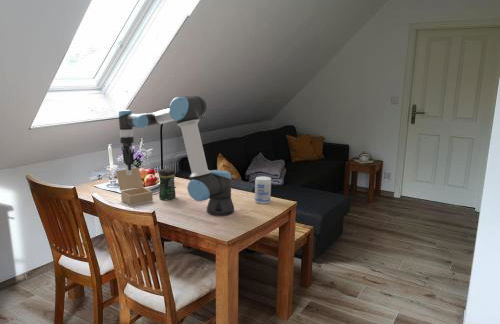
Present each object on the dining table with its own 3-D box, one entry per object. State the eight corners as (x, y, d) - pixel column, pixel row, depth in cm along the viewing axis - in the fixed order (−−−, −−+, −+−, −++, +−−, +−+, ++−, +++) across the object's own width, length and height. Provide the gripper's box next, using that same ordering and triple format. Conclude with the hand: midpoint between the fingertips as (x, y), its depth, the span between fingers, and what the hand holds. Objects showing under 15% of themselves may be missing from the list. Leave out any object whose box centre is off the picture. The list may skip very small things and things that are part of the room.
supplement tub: (257, 204, 228) (257, 180, 224) (252, 200, 236) (252, 176, 233) (272, 203, 230) (273, 179, 227) (267, 198, 239) (268, 175, 236)
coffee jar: (166, 201, 231) (165, 171, 227) (157, 198, 236) (156, 169, 232) (178, 197, 239) (177, 168, 235) (169, 195, 243) (168, 166, 239)
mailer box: (152, 201, 231) (152, 191, 229) (130, 206, 222) (129, 196, 220) (143, 196, 240) (143, 187, 238) (121, 200, 231) (121, 191, 229)
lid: (138, 167, 240) (138, 167, 240) (116, 171, 231) (115, 171, 231) (143, 186, 239) (142, 186, 239) (120, 190, 229) (120, 190, 230)
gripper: (137, 136, 227) (139, 176, 232) (128, 134, 237) (130, 172, 241) (125, 138, 222) (127, 178, 227) (116, 135, 232) (118, 174, 237)
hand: (129, 175), depth 234 cm, fingers closed
